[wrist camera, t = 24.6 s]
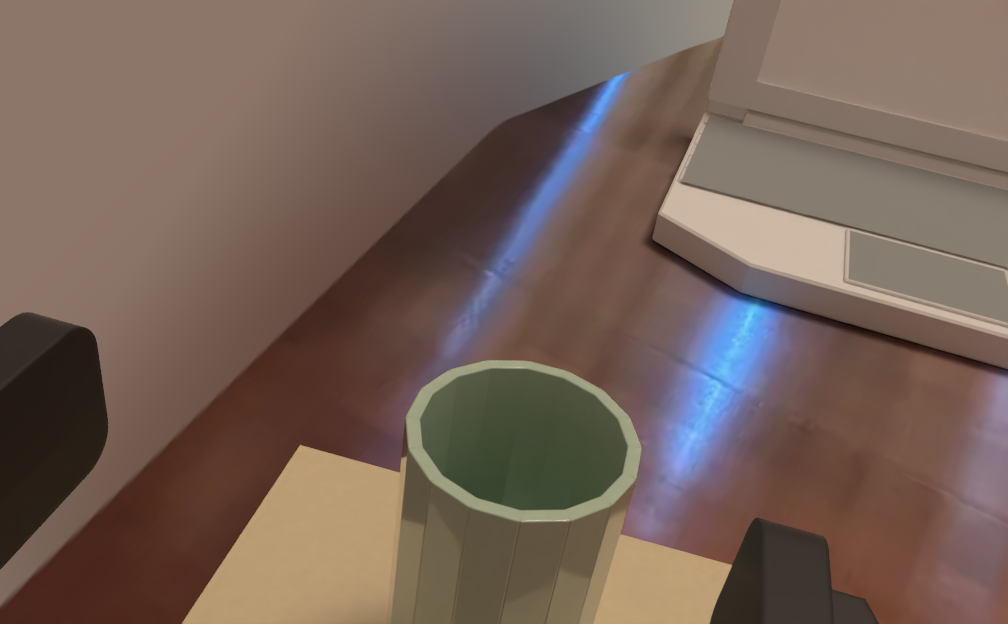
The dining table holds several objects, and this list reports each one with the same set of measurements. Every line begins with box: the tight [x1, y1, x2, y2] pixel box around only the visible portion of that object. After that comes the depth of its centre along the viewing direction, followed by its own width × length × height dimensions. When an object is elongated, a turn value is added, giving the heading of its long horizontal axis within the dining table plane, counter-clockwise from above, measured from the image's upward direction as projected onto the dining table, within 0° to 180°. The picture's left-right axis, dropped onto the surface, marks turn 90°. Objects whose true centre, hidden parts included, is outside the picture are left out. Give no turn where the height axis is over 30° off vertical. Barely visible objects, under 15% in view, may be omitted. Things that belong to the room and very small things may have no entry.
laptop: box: [652, 0, 1008, 369], centre depth 54 cm, size 33×24×26 cm
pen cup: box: [386, 360, 642, 624], centre depth 27 cm, size 6×6×11 cm
